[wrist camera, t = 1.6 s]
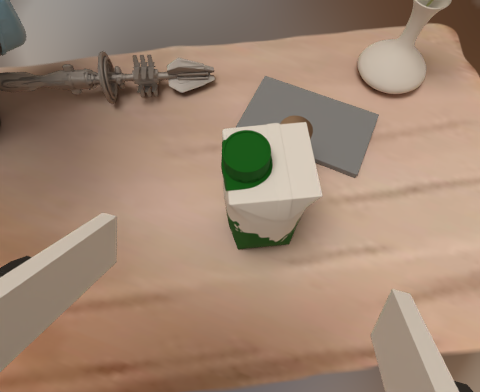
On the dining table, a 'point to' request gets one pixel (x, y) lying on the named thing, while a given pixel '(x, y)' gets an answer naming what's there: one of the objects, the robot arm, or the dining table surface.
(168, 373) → the dining table surface
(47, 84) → the spaceship
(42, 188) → the dining table surface
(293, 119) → the wooden pepper mill
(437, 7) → the flower in vase
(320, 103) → the slate mat
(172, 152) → the dining table surface
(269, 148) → the soya milk
